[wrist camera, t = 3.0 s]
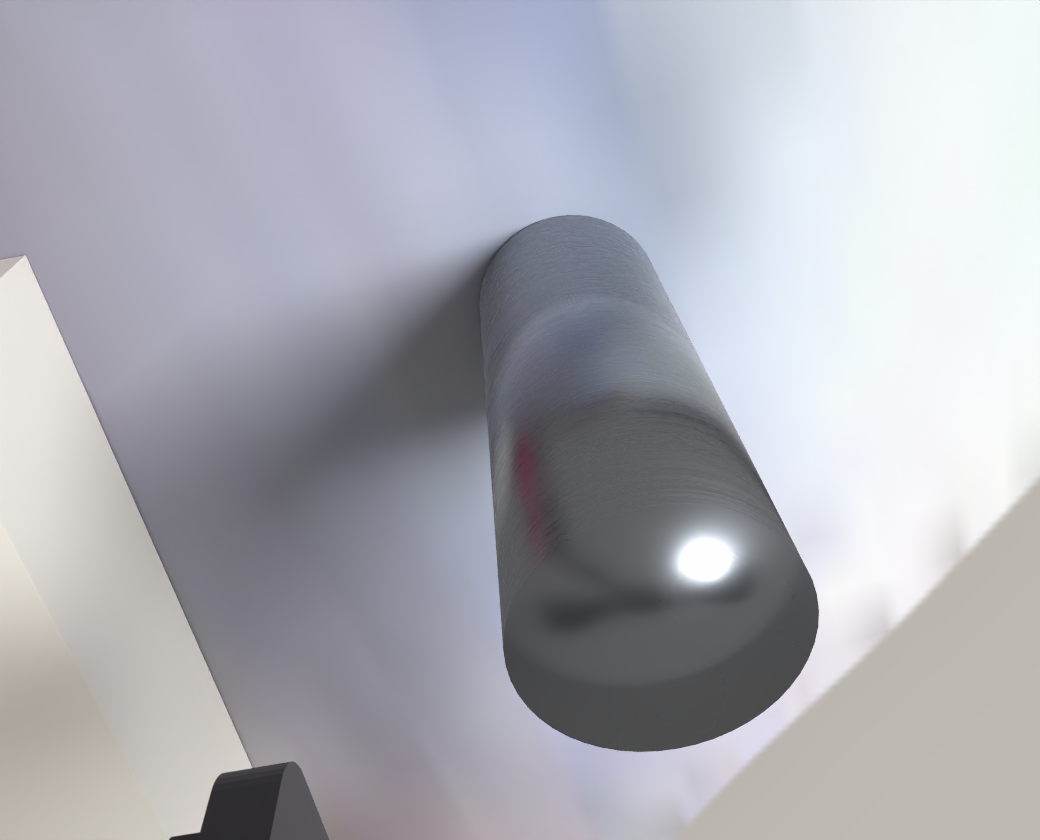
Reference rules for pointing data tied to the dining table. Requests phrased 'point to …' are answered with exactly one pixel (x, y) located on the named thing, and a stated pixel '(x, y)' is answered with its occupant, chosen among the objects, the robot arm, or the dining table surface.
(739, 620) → the peg
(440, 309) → the dining table surface
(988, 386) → the dining table surface
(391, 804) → the dining table surface
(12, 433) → the hole block
